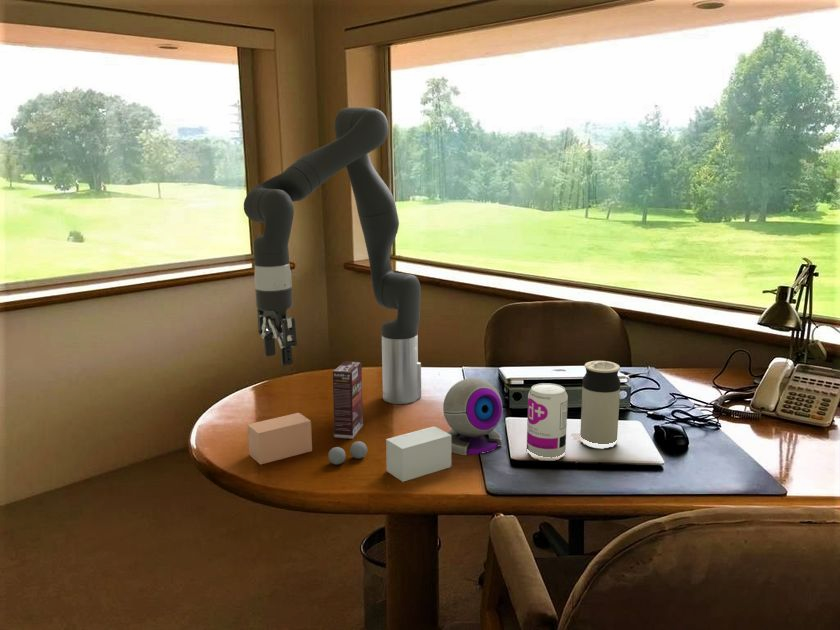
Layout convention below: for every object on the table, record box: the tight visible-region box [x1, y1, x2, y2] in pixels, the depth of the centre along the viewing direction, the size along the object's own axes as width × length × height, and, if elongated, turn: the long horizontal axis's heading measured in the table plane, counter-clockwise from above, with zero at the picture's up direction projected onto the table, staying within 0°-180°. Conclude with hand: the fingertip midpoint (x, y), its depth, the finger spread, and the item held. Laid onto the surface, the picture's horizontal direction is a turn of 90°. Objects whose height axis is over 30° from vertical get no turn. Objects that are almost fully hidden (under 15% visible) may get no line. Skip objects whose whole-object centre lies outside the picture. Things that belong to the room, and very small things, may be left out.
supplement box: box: [332, 360, 364, 440], centre depth 169 cm, size 9×5×16 cm, turn 168°
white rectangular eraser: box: [385, 426, 452, 483], centre depth 150 cm, size 12×6×7 cm, turn 124°
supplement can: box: [526, 382, 569, 458], centre depth 155 cm, size 8×8×15 cm
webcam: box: [442, 377, 503, 456], centre depth 162 cm, size 13×13×15 cm
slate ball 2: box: [349, 440, 368, 459], centre depth 156 cm, size 4×4×4 cm
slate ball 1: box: [327, 446, 346, 466], centre depth 153 cm, size 4×4×4 cm
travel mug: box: [579, 360, 621, 444], centre depth 161 cm, size 8×8×18 cm
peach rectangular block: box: [246, 412, 313, 465], centre depth 158 cm, size 12×6×7 cm, turn 124°
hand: (278, 359), depth 157 cm, fingers open, 8 cm apart
